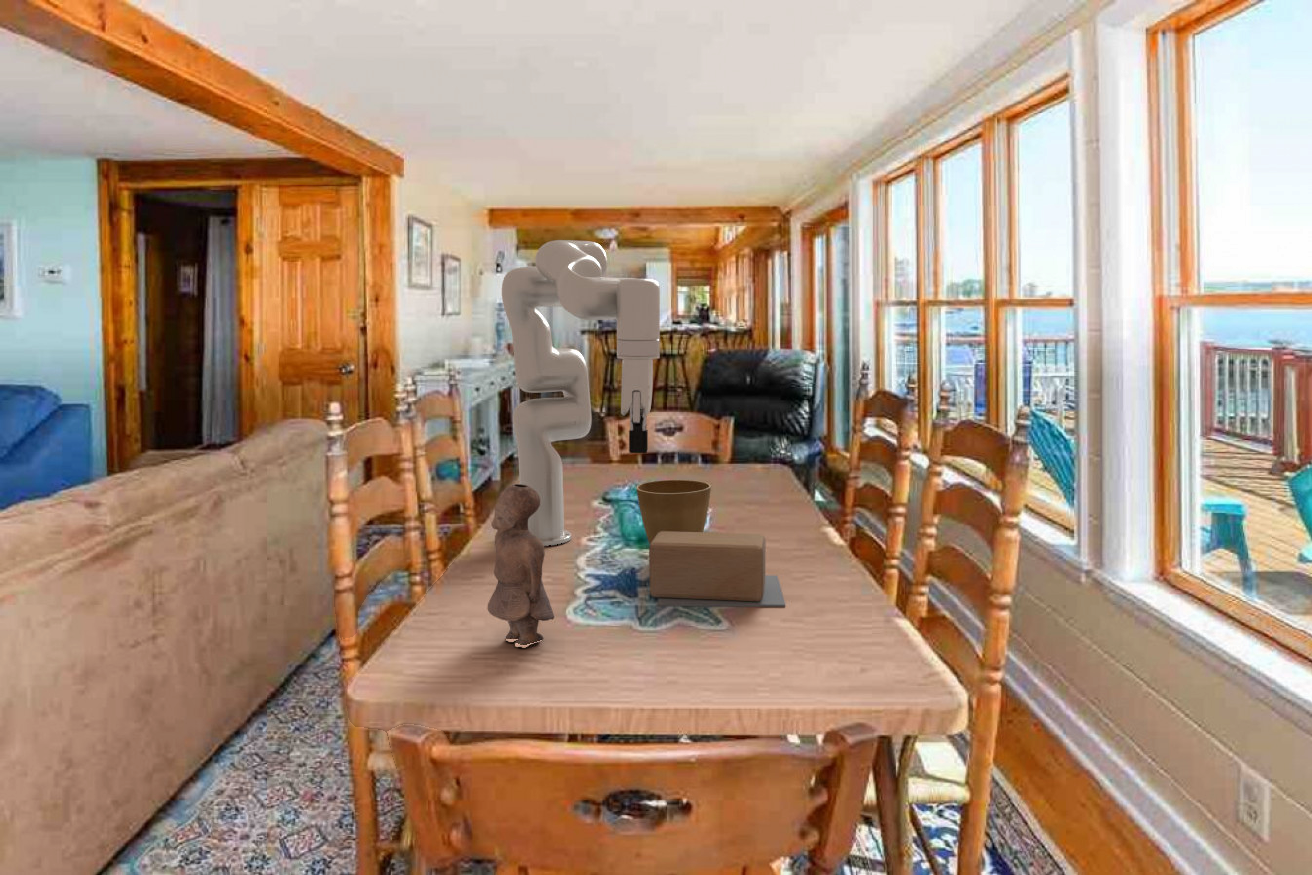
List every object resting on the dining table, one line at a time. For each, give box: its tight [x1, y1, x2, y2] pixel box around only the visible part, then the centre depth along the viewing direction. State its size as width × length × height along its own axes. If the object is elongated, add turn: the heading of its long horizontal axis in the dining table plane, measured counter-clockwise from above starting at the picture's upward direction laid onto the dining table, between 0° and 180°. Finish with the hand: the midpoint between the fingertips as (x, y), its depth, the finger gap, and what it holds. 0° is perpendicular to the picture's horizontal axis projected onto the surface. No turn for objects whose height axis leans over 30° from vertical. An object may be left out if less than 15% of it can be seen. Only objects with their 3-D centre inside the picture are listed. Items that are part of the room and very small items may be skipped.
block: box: [648, 531, 767, 601], centre depth 162 cm, size 10×10×20 cm
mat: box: [657, 574, 786, 608], centre depth 164 cm, size 22×17×1 cm
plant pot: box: [635, 479, 712, 545], centre depth 181 cm, size 15×15×16 cm
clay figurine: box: [486, 483, 555, 645], centre depth 138 cm, size 13×10×25 cm
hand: (638, 452), depth 162 cm, fingers closed
